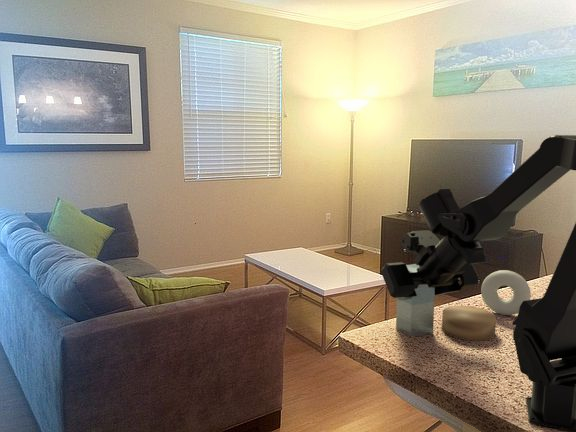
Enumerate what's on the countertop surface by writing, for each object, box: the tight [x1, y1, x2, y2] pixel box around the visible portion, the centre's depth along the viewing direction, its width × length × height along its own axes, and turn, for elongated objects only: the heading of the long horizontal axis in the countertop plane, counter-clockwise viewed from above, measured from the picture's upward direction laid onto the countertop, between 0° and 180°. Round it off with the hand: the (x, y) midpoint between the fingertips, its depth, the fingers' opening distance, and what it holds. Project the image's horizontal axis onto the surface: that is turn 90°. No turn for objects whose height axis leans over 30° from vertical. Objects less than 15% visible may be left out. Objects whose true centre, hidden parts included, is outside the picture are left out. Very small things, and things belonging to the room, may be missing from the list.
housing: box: [395, 263, 436, 338], centre depth 94 cm, size 5×5×13 cm
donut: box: [480, 269, 532, 316], centre depth 104 cm, size 10×3×10 cm, turn 59°
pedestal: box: [441, 305, 497, 342], centre depth 95 cm, size 10×10×4 cm
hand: (411, 296), depth 96 cm, fingers open, 6 cm apart
